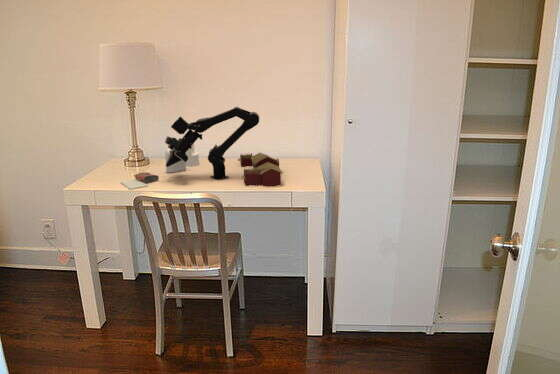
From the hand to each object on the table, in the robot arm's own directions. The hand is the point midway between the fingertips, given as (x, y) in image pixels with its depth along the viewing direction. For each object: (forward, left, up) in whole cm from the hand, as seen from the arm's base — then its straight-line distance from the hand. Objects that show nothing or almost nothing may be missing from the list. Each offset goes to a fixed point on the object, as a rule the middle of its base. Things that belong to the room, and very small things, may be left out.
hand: (166, 166), depth 224 cm
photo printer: (+15, -11, -8) cm, 20 cm away
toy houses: (-15, -42, -8) cm, 45 cm away
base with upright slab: (+23, -23, -8) cm, 33 cm away
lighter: (+3, +7, -6) cm, 9 cm away
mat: (+5, +15, -7) cm, 17 cm away
